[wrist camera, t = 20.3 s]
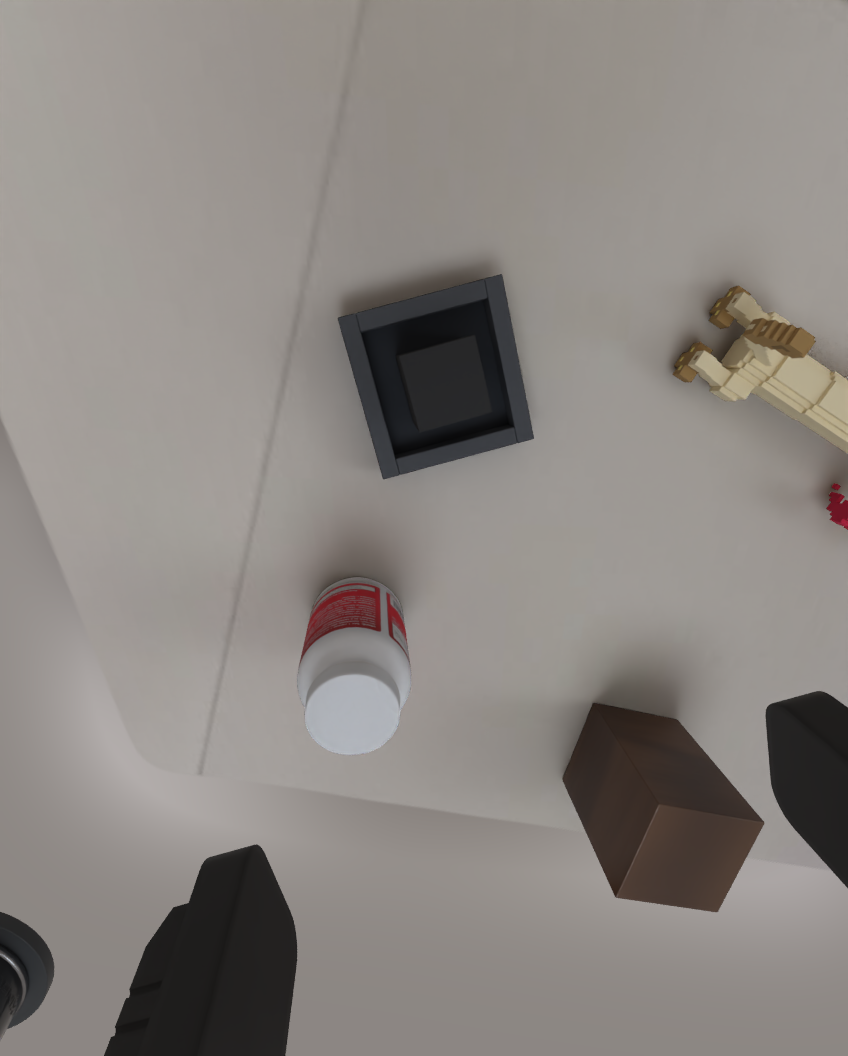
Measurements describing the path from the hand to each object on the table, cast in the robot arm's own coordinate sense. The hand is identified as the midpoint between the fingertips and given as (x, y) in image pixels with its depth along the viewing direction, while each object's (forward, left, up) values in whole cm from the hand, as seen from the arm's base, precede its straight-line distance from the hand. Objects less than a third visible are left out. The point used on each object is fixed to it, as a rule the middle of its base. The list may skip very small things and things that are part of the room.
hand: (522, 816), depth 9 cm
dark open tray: (+3, +5, -28) cm, 29 cm away
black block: (+3, +5, -27) cm, 28 cm away
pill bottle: (-6, -9, -28) cm, 30 cm away
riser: (+10, -25, -28) cm, 39 cm away
